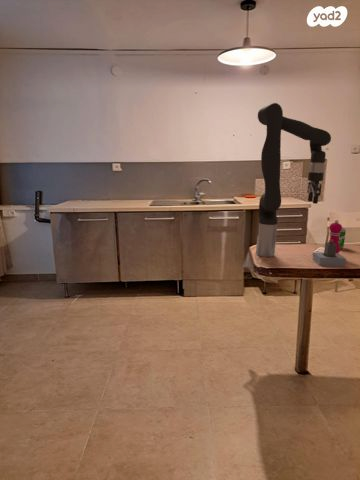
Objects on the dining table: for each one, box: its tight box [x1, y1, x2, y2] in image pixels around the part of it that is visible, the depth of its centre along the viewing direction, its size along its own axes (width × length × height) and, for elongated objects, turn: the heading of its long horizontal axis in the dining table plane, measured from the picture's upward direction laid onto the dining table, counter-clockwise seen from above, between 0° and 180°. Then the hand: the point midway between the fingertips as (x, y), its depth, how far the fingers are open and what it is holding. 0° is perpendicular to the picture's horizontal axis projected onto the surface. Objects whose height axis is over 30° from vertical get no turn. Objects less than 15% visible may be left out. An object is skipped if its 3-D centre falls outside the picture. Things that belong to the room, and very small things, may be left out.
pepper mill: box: [327, 219, 343, 254], centre depth 164 cm, size 7×7×20 cm
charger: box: [323, 238, 337, 257], centre depth 155 cm, size 4×4×12 cm
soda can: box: [338, 226, 347, 250], centre depth 183 cm, size 8×8×12 cm
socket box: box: [312, 251, 347, 267], centre depth 156 cm, size 12×9×4 cm
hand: (312, 202), depth 168 cm, fingers open, 8 cm apart
